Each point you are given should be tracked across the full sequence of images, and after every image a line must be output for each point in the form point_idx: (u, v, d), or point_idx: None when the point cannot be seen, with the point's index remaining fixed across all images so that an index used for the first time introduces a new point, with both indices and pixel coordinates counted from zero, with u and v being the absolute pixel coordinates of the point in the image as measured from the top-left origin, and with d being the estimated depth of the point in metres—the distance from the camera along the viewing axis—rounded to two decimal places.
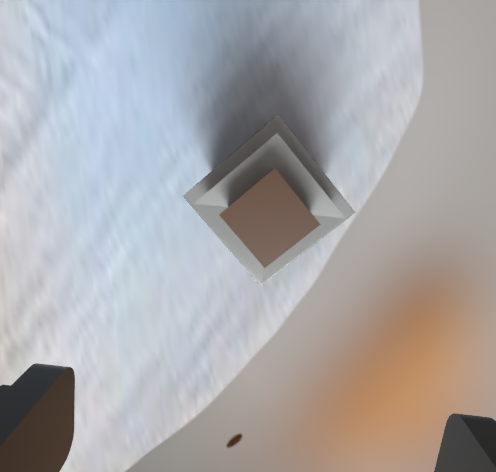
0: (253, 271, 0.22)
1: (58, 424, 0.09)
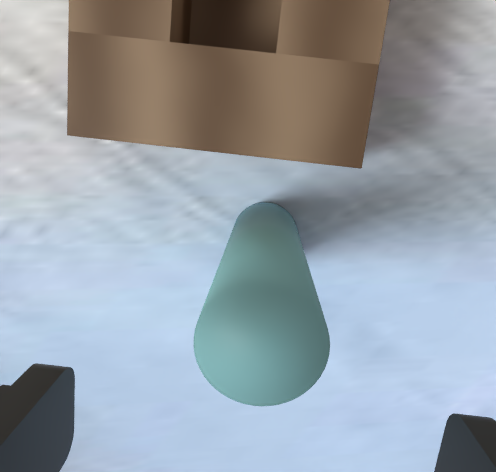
0: None
1: (57, 424, 0.09)
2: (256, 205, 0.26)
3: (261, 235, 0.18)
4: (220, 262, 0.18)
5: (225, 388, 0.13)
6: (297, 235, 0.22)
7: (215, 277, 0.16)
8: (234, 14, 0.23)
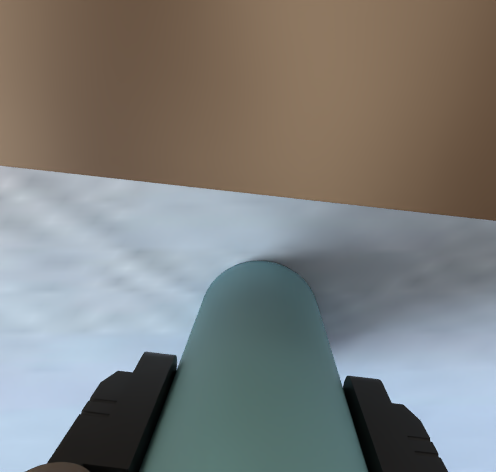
0: None
1: None
2: (242, 270, 0.14)
3: None
4: None
5: None
6: (333, 370, 0.09)
7: None
8: None
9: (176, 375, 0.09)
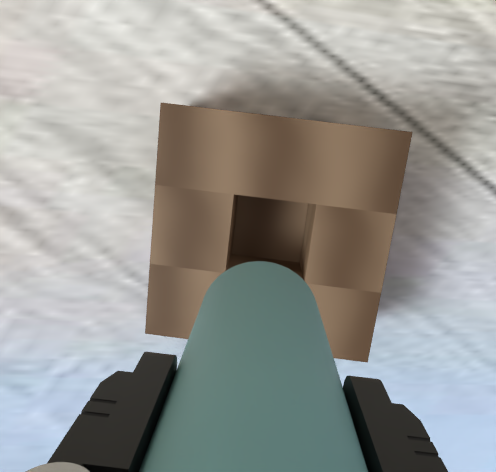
0: None
1: None
2: (242, 270, 0.14)
3: None
4: None
5: None
6: (333, 370, 0.09)
7: None
8: (269, 222, 0.30)
9: (176, 375, 0.09)
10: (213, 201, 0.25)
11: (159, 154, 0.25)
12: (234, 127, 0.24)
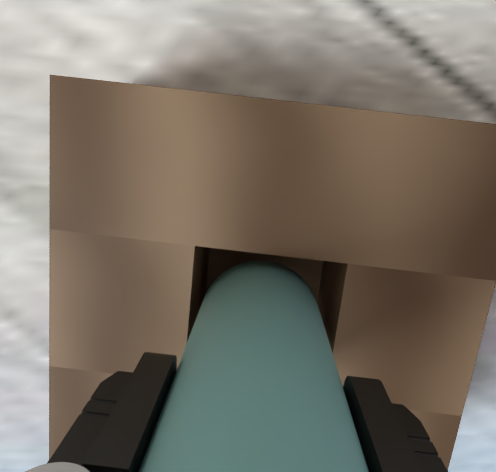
0: None
1: None
2: (242, 269, 0.14)
3: None
4: None
5: None
6: (334, 369, 0.09)
7: None
8: None
9: (176, 374, 0.09)
10: (158, 257, 0.14)
11: (53, 173, 0.13)
12: (192, 121, 0.13)
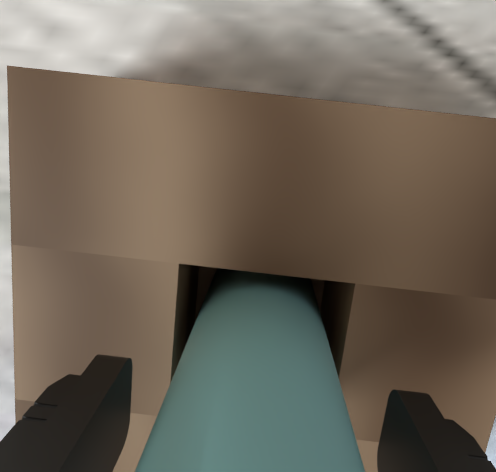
0: None
1: (120, 411, 0.09)
2: None
3: (244, 385, 0.07)
4: (144, 448, 0.07)
5: None
6: (321, 330, 0.11)
7: None
8: None
9: (191, 334, 0.11)
10: (137, 277, 0.12)
11: (14, 180, 0.11)
12: (174, 120, 0.11)
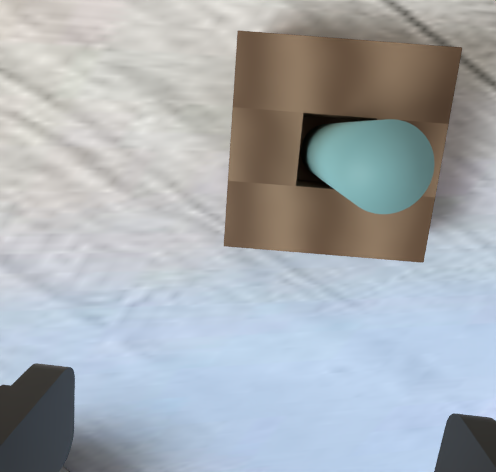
0: None
1: (58, 424, 0.09)
2: (321, 125, 0.32)
3: None
4: (323, 144, 0.24)
5: (361, 202, 0.19)
6: None
7: (332, 143, 0.21)
8: None
9: (314, 139, 0.27)
10: (285, 119, 0.28)
11: (236, 78, 0.28)
12: (303, 50, 0.27)
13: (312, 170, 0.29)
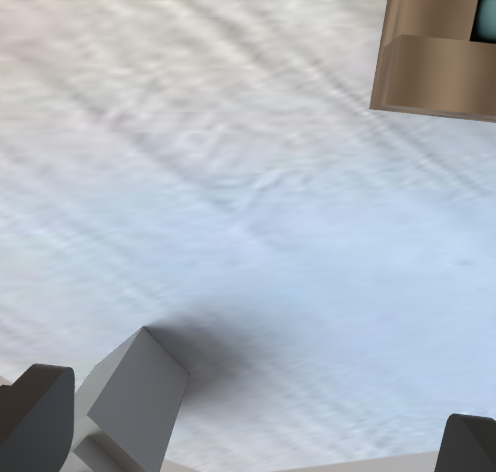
0: None
1: (57, 424, 0.09)
2: None
3: None
4: None
5: None
6: None
7: None
8: None
9: None
10: None
11: None
12: None
13: (489, 23, 0.29)
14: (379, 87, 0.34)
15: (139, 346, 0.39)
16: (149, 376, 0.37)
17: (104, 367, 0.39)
